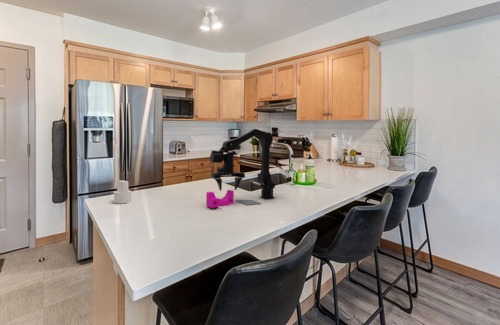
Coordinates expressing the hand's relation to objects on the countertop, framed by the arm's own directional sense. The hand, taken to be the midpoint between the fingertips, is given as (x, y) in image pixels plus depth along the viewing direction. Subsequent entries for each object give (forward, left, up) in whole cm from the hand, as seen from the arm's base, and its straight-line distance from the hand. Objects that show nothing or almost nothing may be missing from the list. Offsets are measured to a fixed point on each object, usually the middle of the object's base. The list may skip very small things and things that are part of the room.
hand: (228, 190), depth 151 cm
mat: (-11, +2, -7) cm, 13 cm away
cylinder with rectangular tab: (+53, -30, -7) cm, 61 cm away
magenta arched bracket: (+5, +3, -8) cm, 10 cm away
